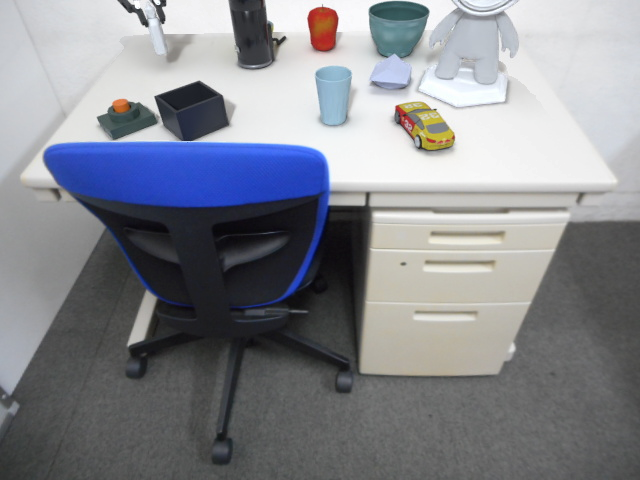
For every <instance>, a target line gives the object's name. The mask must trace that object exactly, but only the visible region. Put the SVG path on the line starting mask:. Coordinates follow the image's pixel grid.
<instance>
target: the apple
mask: <svg viewBox="0 0 640 480" xmlns="http://www.w3.org/2000/svg"><path fill="white" fill-rule="evenodd" d="M339 19H340V17H339V15H338V12H337V11H336V9H333V8H331V7H327V6H324V4H323V3H321V6H317V7H315V8H312V9H310V10H309V12H308V15H307V17H306V20H307V26H308V32H309V37H310V45H311V46H312V47H313V48H314V49H315V50H317V51H320V52H326V51H327V52H328V51H330V50H332V49H333V48H335V46H336V44H337V43H336V41H337V32H338V27H339Z"/></svg>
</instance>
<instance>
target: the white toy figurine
mask: <svg viewBox="0 0 640 480" xmlns="http://www.w3.org/2000/svg"><path fill="white" fill-rule="evenodd" d="M450 1H451V2H452V3H453V5H455V6H456V8H454V9H453V10H451V11H450V12H449V13H448V14H447V15H446V16H445V17H444V18H442V19H441V21H440V22H438V23H437V25H435V27H434V29H433V30H432V32H431V34H430V35H429V38H428V39H429V40H428V48H429V49H430V50H433V49H434V48H435V45H436V44H437V43H438V42H439V45H440V46H443V45H444V43H445V41H446V39H447V37H448V35H449V34H450V35H449V37H448V39H447V41H446V43H445V45H444V47H443V49H442V51H441V55H440V56H439V59H438V62H437V64H431V65H429V66H428V67H427V68H426V69H425V72H424V75H423V77H422V79H421V82H420V84H419V86H418V92H421V93H422V94H425V95H427V96H430V97H432V98H434V99H437V100H439V101H441V102H444V103H445V104H448V105H451V106H453V107H455V108H465V107H474V106H482V105H491V104H492V105H493V104H499V103H500V104H501V103H505V101H506V96H507V88H508V77H507V75H506V74H505V73H503V72H501V71H499V61H500V57H499V56H500V41H501V52H502V53H505V52H506V49H508V51H509V58H510V59H513V58H515V56H516V55H517V53H518V51H519V47H520V39H519V35H518V31H517V29H516V27H515V25H514V23H513V21H512V19H511V17H510V16H509V15H508V14H507V12H505V11H506V10H508V9H510V8H511V7H513V6H514V5H515V4H517V3H518V2H520V0H450ZM450 32H451V33H450ZM499 36H500V39H499ZM464 59H466V61H464ZM469 60H474V62H472V61H469Z"/></svg>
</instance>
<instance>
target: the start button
mask: <svg viewBox="0 0 640 480" xmlns="http://www.w3.org/2000/svg"><path fill="white" fill-rule="evenodd" d="M128 101H129V100H128V99H126V98H118V99H115V100H114V101H112V102H111V106H112V105H113V107H114V110H115V112H118V113H119V112H125V111H128V110H129V109H130V106H129V103H128Z"/></svg>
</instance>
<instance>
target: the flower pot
mask: <svg viewBox="0 0 640 480" xmlns="http://www.w3.org/2000/svg"><path fill="white" fill-rule="evenodd" d="M367 12H368V25H369V31H370V35H371V38H372V40H373V41H374V44H375V45H376V47H377V52H378V53H379V54H380V55H381V56H384V57H387V58H388V57H390V56H392V55H393V54H396V55H397V56H398V57H399V58H404V57H407V56H410V54H411V53H412V51H413V48H415V47H416V46H417V44H418V43H419V42H420V40H421V38H422V37H423V35H424V32H425V30H426V28H427V27H426V26H427V23H428V19H429V16H430V13H431V10H430V9H429V7H427V6H426V5H424V4H421V3H419V2H414V1H409V0H386V1H381V2H378V3H374V4H372V5H371V6H370V7H368V11H367Z"/></svg>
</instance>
